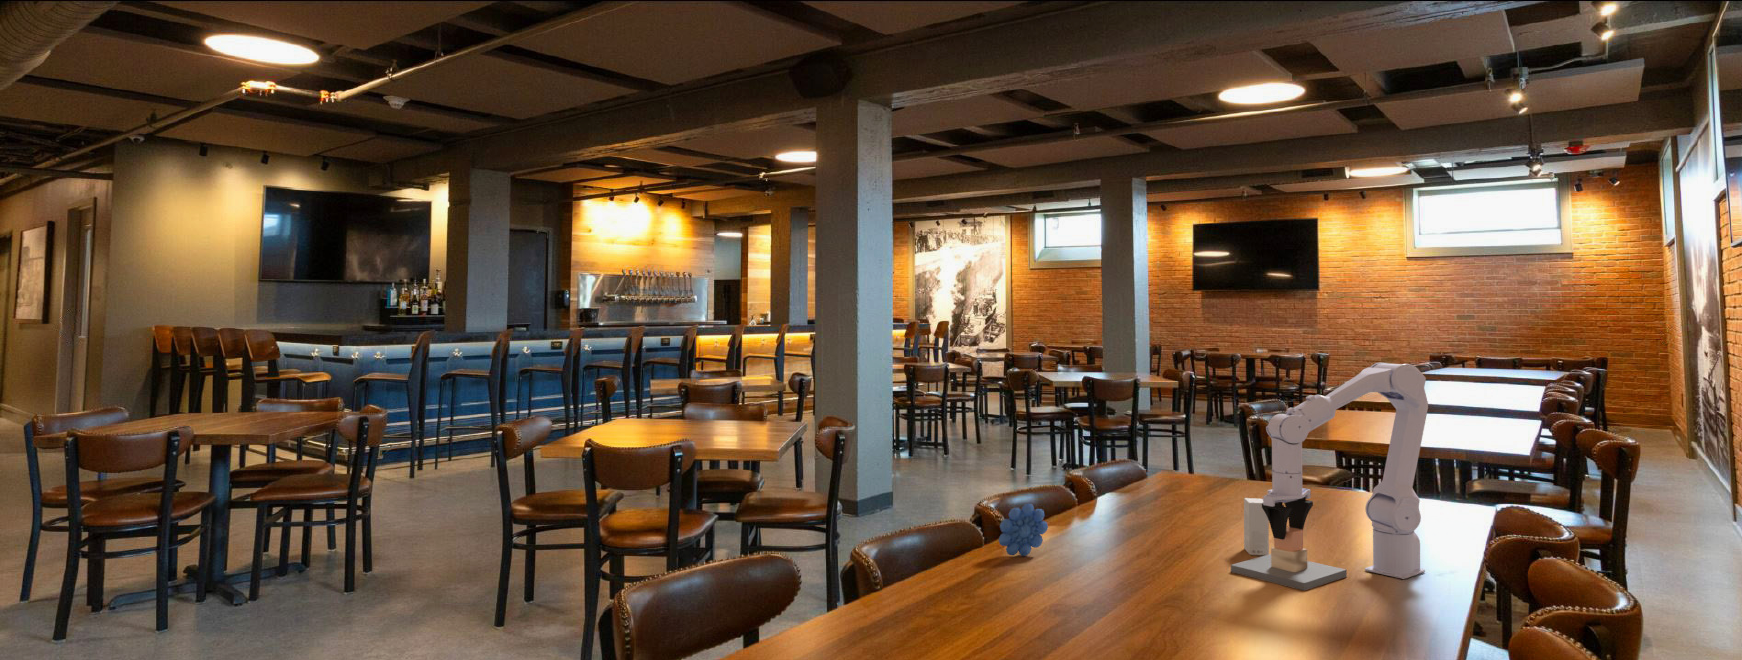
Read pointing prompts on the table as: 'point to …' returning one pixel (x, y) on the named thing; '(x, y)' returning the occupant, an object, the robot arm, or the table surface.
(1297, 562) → the birch block
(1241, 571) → the base board
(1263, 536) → the skincare box
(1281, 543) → the terracotta cube
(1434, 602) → the table surface
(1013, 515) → the blue bead flower
